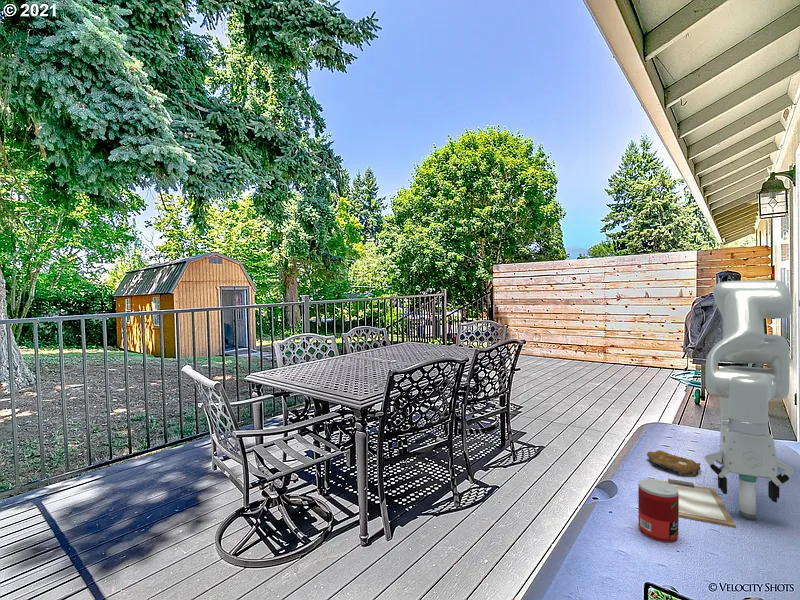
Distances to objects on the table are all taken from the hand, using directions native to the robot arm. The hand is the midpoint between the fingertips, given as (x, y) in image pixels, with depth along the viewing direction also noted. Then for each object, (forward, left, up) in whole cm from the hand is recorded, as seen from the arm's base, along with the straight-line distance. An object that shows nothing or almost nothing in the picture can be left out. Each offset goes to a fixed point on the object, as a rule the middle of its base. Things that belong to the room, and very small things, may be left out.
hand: (747, 495), depth 103 cm
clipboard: (-3, -12, -6) cm, 14 cm away
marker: (0, 0, -6) cm, 6 cm away
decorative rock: (-27, -12, -6) cm, 30 cm away
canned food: (+17, -21, -6) cm, 27 cm away
